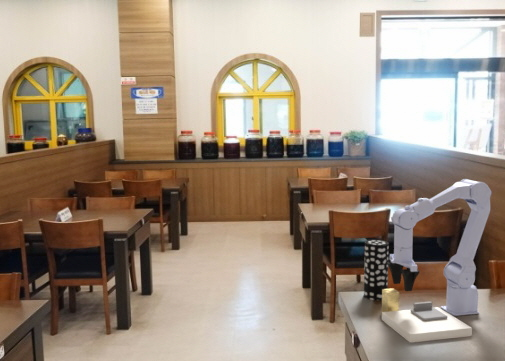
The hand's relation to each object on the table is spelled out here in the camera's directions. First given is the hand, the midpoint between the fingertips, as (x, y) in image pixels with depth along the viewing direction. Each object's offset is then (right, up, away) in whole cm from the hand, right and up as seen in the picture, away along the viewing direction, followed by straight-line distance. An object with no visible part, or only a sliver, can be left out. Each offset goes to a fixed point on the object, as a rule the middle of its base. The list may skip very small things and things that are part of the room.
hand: (402, 287), depth 174 cm
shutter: (+7, -8, -6) cm, 12 cm away
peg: (-4, -9, +2) cm, 10 cm away
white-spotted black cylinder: (-4, -8, +19) cm, 21 cm away
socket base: (+4, -11, -9) cm, 15 cm away
